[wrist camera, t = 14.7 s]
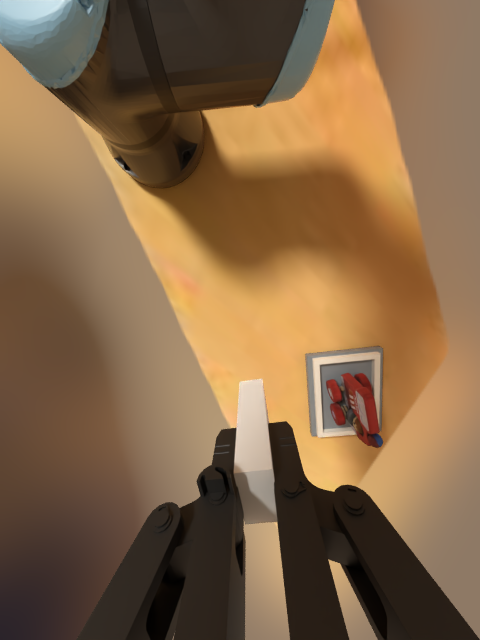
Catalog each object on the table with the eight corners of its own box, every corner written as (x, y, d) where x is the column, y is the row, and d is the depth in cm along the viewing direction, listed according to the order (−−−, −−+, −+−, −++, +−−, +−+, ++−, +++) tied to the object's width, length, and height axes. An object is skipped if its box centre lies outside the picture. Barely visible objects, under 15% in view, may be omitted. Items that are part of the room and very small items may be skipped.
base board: (305, 353, 44) (308, 358, 42) (379, 346, 43) (386, 350, 41) (310, 432, 48) (313, 439, 46) (378, 426, 47) (384, 434, 45)
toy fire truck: (332, 424, 46) (356, 468, 36) (322, 369, 43) (345, 401, 33) (367, 417, 45) (401, 461, 35) (359, 362, 42) (393, 392, 32)
